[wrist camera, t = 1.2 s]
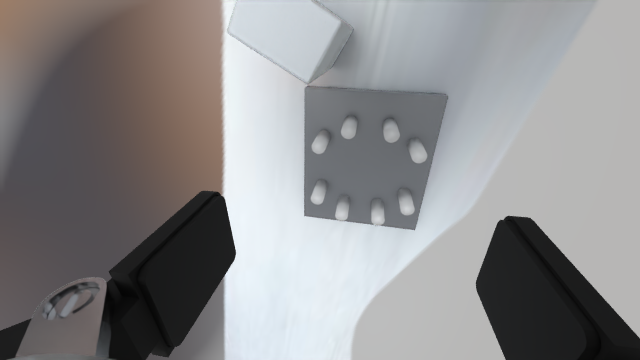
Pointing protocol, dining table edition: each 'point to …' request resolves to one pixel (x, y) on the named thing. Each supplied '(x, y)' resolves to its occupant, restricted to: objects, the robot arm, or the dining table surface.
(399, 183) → the peg board
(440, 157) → the dining table surface
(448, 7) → the dining table surface
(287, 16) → the skincare box
